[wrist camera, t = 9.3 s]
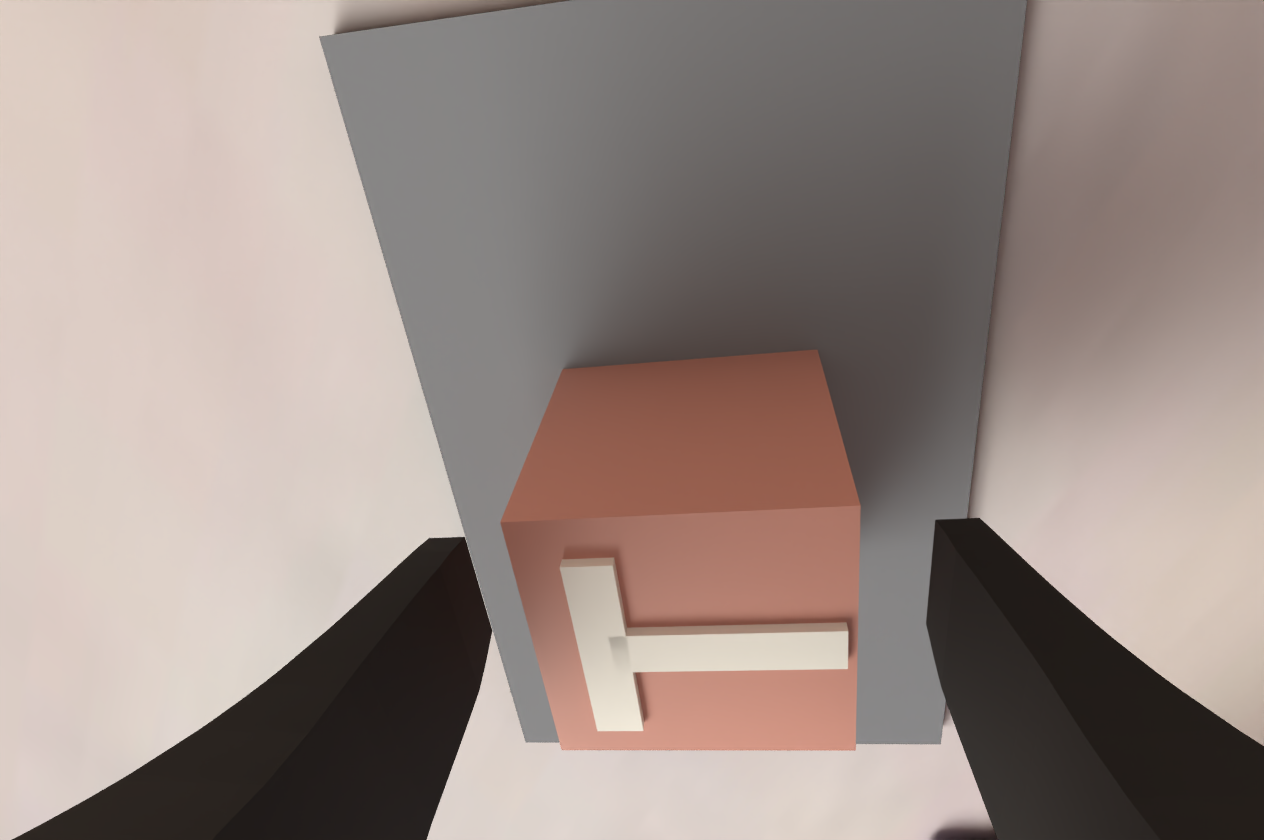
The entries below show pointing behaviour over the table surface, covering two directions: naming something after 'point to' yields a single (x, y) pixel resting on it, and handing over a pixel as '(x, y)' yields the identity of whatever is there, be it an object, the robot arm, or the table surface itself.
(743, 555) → the lettered cube
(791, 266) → the charcoal mat
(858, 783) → the table surface
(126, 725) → the table surface
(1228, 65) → the table surface
